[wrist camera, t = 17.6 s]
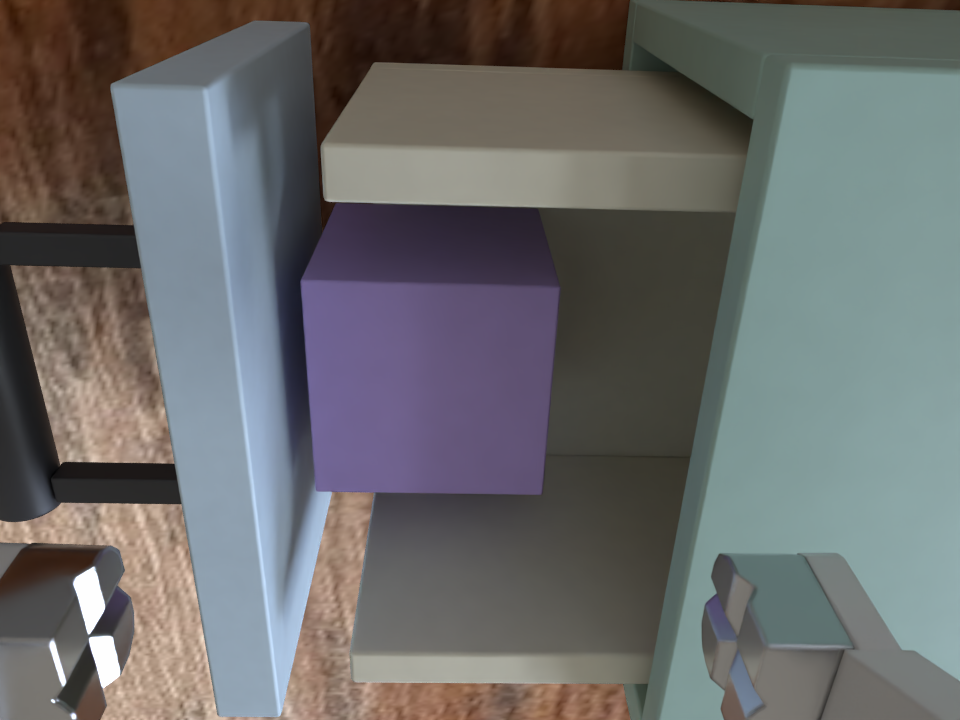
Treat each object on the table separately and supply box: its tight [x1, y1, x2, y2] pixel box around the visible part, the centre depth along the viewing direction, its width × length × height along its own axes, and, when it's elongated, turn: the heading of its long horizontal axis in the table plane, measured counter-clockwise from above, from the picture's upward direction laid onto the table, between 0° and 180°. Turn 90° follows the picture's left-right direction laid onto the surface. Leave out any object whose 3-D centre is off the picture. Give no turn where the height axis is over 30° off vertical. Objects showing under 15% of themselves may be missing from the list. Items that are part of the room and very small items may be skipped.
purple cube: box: [300, 203, 561, 495], centre depth 17 cm, size 4×4×4 cm
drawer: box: [0, 21, 753, 717], centre depth 16 cm, size 18×11×8 cm, turn 88°
